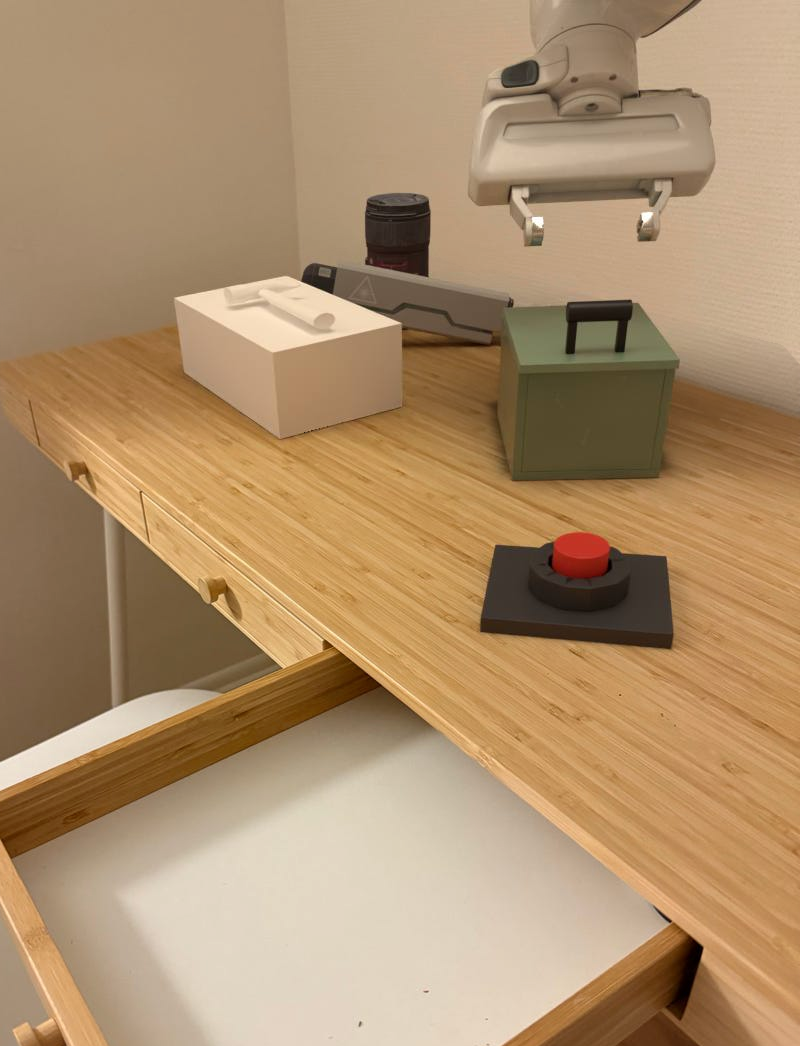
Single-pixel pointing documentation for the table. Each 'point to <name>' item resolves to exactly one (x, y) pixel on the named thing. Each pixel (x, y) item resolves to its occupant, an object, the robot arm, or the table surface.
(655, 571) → the button box
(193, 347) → the white rectangular box
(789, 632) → the table surface
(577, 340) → the box lid
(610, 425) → the green box
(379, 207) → the camera lens
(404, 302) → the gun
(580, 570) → the button
